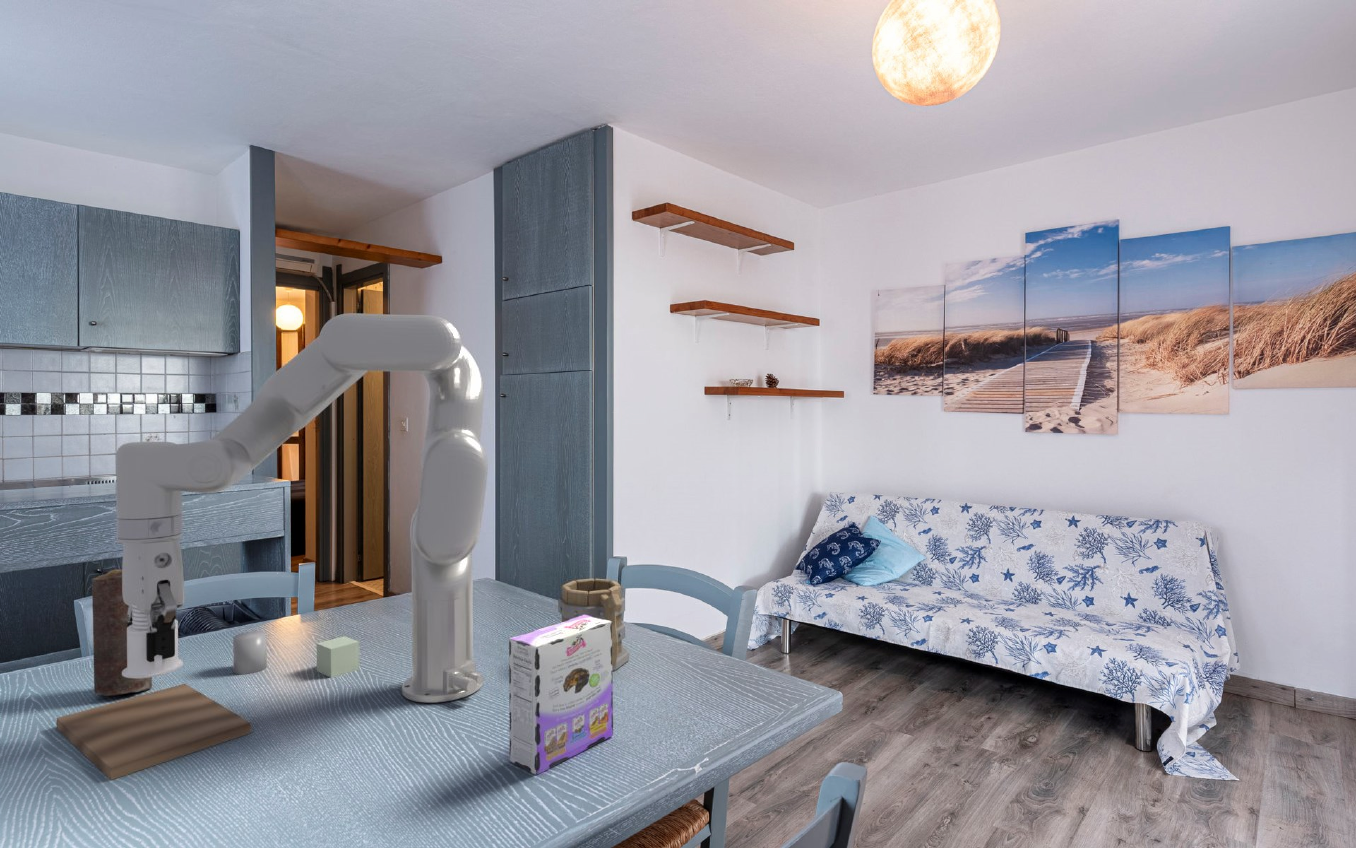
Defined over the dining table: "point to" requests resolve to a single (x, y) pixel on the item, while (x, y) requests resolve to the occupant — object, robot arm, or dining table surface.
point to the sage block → (337, 656)
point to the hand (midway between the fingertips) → (150, 652)
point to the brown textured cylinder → (111, 638)
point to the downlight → (137, 649)
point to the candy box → (560, 691)
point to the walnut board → (150, 729)
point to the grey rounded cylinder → (249, 652)
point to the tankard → (597, 609)
